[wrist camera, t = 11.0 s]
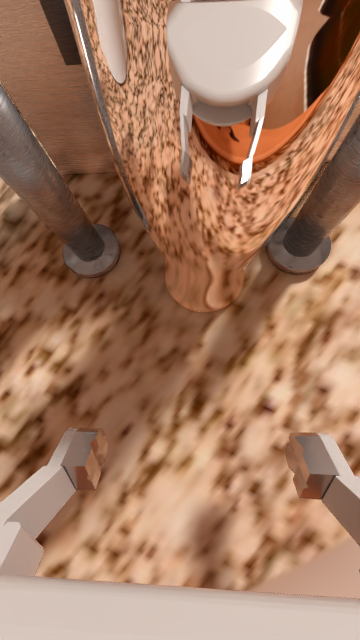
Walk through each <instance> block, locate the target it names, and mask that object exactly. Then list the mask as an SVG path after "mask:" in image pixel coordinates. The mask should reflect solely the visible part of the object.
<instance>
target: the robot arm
mask: <svg viewBox="0 0 360 640" xmlns="http://www.w3.org/2000/svg"><path fill="white" fill-rule="evenodd" d="M103 436H104V431H103V429H96V428H68V429H67V430H66V431H65V432H64V434H63V436H62V438H61V440H60V442H59V444H58V446H57V447H56V449H55V451H54V453H53V455H52V457H51V459H50V461H49V463H48V465H47V466H43V467H42V468H40V469H39V470H38V471H37V472H36V473H35V474H33V475H32V476H31V477H30V478H29V479H27V480H26V481H25V482H24V483H23V484H22V485H20V486H19V487H18V488H17V489H16V490H15V491H13V492H12V493H11V494H10V495H9V496H8V497H6V498H5V499H4V500H3V501H2V502H1V503H0V640H360V599H355V598H342V597H326V596H312V595H298V594H282V593H269V592H254V591H240V590H225V589H210V588H196V587H181V586H166V585H152V584H137V583H122V582H108V581H93V580H78V579H64V578H49V577H34V576H35V574H36V571H37V569H38V566H39V564H40V561H41V559H42V556H43V553H44V550H43V547H42V546H41V545H40V544H39V543H38V542H37V541H36V540H35V539H36V538H37V537H38V535H39V534H40V533H41V532H42V531H43V530H44V528H45V527H46V526H47V525H48V524H49V522H50V521H51V520H52V519H53V518H54V517H55V515H56V514H57V513H58V512H59V511H60V509H61V508H62V507H63V506H64V505H65V503H66V502H67V501H68V500H69V499H70V498H71V496H72V495H73V494H74V493H75V492H76V490H96V487H97V484H98V481H99V478H100V475H101V471H100V466H101V465H102V464H103V463H104V462H105V459H106V456H107V450H108V443H107V439H105V438H104V437H103ZM289 440H290V442H289V443H287V444H286V448H285V451H286V459H287V463H288V466H289V468H290V469H291V470H292V471H293V472H294V473H295V475H294V478H293V481H294V484H295V487H296V490H297V493H298V496H299V498H304V499H319V500H322V502H323V503H324V504H325V506H326V507H327V508H328V509H329V510H330V512H331V513H332V514H333V515H334V516H335V517H336V519H337V520H338V521H339V522H340V523H341V525H342V526H343V527H344V528H345V529H346V531H347V532H348V533H349V534H350V535H351V536H352V538H353V539H354V540H355V541H356V542H357V544H358V545H359V546H360V477H358V476H354V474H353V473H352V471H351V469H350V467H349V465H348V464H347V462H346V460H345V458H344V456H343V455H342V453H341V451H340V449H339V447H338V446H337V444H336V442H335V440H334V438H333V437H332V436H331V435H330V434H329V433H290V435H289ZM359 572H360V570H359Z"/></svg>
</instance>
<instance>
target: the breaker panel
mask: <svg viewBox="0 0 360 640" xmlns="http://www.w3.org/2000/svg"><path fill="white" fill-rule="evenodd" d="M0 81H1V83H2V85H3V86H4V88H5V89H6V91H7V92H8V94H9V95H10V97H11V98H12V100H13V101H14V103H15V104H16V106H17V107H18V109H19V111H20V112H21V114H22V115H23V117H24V118H25V120H26V121H27V123H28V124H29V126H30V127H31V129H32V130H33V132H34V134H35V135H36V137H37V138H38V140H39V141H40V143H41V144H42V146H43V147H44V149H45V150H46V152H47V153H48V155H49V156H50V158H51V160H52V161H53V163H54V164H55V166H56V167H57V169H58V170H59V172H60V173H61V175H64V174H85V173H106V172H117V170H116V168H115V165H114V163H113V160H112V157H111V154H110V151H109V148H108V145H107V142H106V139H105V136H104V133H103V130H102V127H101V124H100V122H99V119H98V115H97V112H96V109H95V105H94V102H93V99H92V95H91V92H90V89H89V85H88V82H87V79H86V75H85V72H84V69H83V66H82V62H81V59H80V55H79V52H78V48H77V45H76V41H75V38H74V34H73V31H72V27H71V24H70V20H69V17H68V13H67V10H66V6H65V3H64V0H0ZM359 114H360V99H359V100H358V102H357V104H356V106H355V108H354V110H353V112H352V114H351V116H350V118H349V120H348V122H347V124H346V125H345V127H344V129H343V131H342V133H341V134H340V136H339V138H338V140H337V142H336V143H335V145H334V147H333V149H332V150H331V152H330V154H329V156H328V158H327V159H326V161H325V162H330V161H331V159H332V158H333V156H334V155H335V153H336V151H337V150H338V148H339V146H340V145H341V143H342V141H343V140H344V138H345V137H346V135H347V133H348V132H349V130H350V128H351V127H352V125H353V124H354V122H355V120H356V119H357V117H358V115H359Z"/></svg>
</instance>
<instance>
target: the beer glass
mask: <svg viewBox="0 0 360 640" xmlns="http://www.w3.org/2000/svg"><path fill="white" fill-rule="evenodd" d="M64 3H65V6H66V10H67V13H68V17H69V20H70V24H71V27H72V31H73V34H74V38H75V41H76V45H77V48H78V52H79V55H80V59H81V62H82V66H83V69H84V72H85V75H86V79H87V82H88V85H89V89H90V92H91V95H92V99H93V102H94V105H95V109H96V112H97V115H98V119H99V122H100V124H101V127H102V130H103V133H104V136H105V139H106V142H107V145H108V148H109V151H110V154H111V157H112V160H113V163H114V165H115V168H116V170H117V172H118V175H119V177H120V180H121V182H122V184H123V187H124V189H125V192H126V194H127V196H128V199H129V201H130V203H131V205H132V207H133V208H134V210H135V212H136V214H137V216H138V218H139V219H140V221H141V223H142V225H143V227H144V228H145V230H146V231H147V233H148V235H149V236H150V238H151V239H152V241H153V242H154V244H155V245H156V247H157V248H158V250H159V251H160V253H161V254H162V256H163V258H164V259H165V261H166V266H165V283H166V286H167V289H168V291H169V293H170V295H171V296H172V297H173V299H174V300H175V301H176V302H178V303H179V304H180V305H182V306H183V307H185V308H187V309H189V310H192V311H196V312H213V311H217V310H220V309H222V308H224V307H226V306H228V305H229V304H230V303H232V302H233V301H234V300H235V299H236V298H237V296H238V295H239V294H240V292H241V290H242V287H243V285H244V281H245V269H246V266H247V264H248V263H249V262H250V261H251V260H252V259H253V258H254V257H255V255H256V254H257V253H258V252H259V251H260V250H261V249H262V248H263V247H264V246H265V245H266V244H267V243H268V241H269V240H270V239H271V238H272V237H273V236H274V235H275V234H276V233H277V231H278V230H279V229H280V227H281V226H282V225H283V224H284V222H285V221H286V220H287V219H288V217H289V216H290V215H291V214H292V212H293V211H294V210H295V209H296V207H297V206H298V204H299V203H300V201H301V200H302V198H303V197H304V195H305V193H306V192H307V190H308V189H309V187H310V186H311V184H312V183H313V181H314V179H315V178H316V176H317V175H318V173H319V172H320V170H321V168H322V167H323V165H324V163H325V161H326V159H327V158H328V156H329V154H330V152H331V150H332V149H333V147H334V145H335V143H336V142H337V140H338V138H339V136H340V134H341V133H342V131H343V129H344V127H345V125H346V124H347V122H348V120H349V118H350V116H351V114H352V112H353V110H354V108H355V106H356V104H357V102H358V100H359V99H360V0H64Z"/></svg>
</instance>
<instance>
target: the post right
mask: <svg viewBox="0 0 360 640" xmlns="http://www.w3.org/2000/svg"><path fill="white" fill-rule="evenodd" d="M359 202H360V114H359V115H358V117H357V119H356V120H355V122H354V124H353V125H352V127H351V128H350V130H349V132H348V133H347V135H346V137H345V138H344V140H343V141H342V143H341V145H340V146H339V148H338V150H337V151H336V153H335V155H334V156H333V158H332V159H331V161H330V163H329V164H328V166H327V168H326V169H325V171H324V172H323V174H322V176H321V177H320V179H319V181H318V182H317V184H316V185H315V187H314V189H313V190H312V192H311V194H310V195H309V197H308V198H307V200H306V202H305V203H304V205H303V207H302V208H301V210H300V212H299V213H298V215H297V216H296V217H293V218H288V219H287V220H286V221H285V222H284V224H283V225H282V226H281V227H280V229H279V230H278V231H277V233H276V234H275V235H274V236H273V237H272V238H271V239H270V240H269V241H268V243H267V244H266V251H267V255H268V257H269V259H270V261H271V262H272V263H273V264H274V265H275V266H276V267H277V268H278V269H280V270H282V271H284V272H286V273H289V274H295V275H301V274H307V273H310V272H312V271H314V270H315V269H317V268H318V267H319V266H320V265H321V264H322V263H323V262H324V261H325V260H326V259H327V257H328V256H329V253H330V250H331V241H330V238H329V235H330V234H331V233H332V231H333V230H334V229H335V228H336V227H337V226H338V225H339V224H340V223H341V222H342V221H343V219H344V218H345V217H346V216H347V215H348V214H349V213H350V212H351V211H352V210H353V209H354V207H355V206H356V205H357V204H358V203H359Z"/></svg>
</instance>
